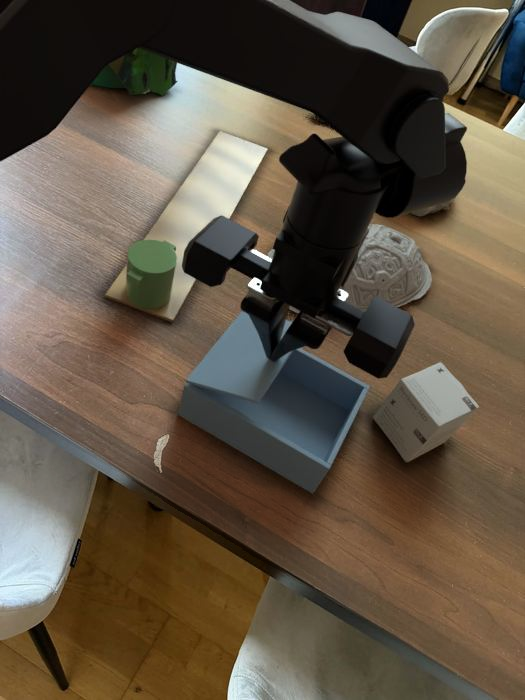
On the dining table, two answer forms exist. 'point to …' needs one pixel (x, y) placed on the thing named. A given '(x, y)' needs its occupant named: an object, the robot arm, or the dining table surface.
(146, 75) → the sculpture
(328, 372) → the carton
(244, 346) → the flap
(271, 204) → the dining table surface
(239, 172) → the board
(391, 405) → the white cardboard box
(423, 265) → the turtle shell
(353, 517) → the dining table surface
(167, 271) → the pot
